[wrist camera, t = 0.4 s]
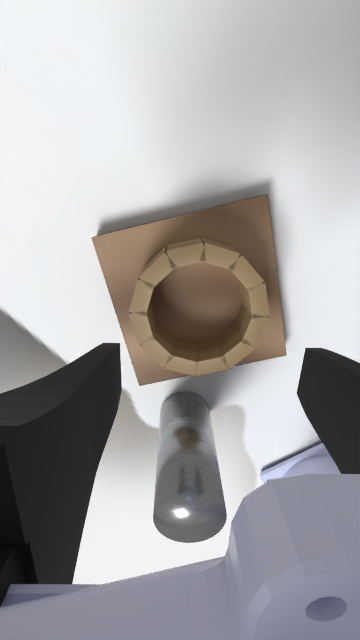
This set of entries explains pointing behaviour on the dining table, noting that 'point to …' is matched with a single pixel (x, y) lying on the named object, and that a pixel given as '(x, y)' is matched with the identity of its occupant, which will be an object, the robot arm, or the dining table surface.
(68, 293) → the dining table surface
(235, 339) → the socket block
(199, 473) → the steel pin
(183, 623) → the robot arm
